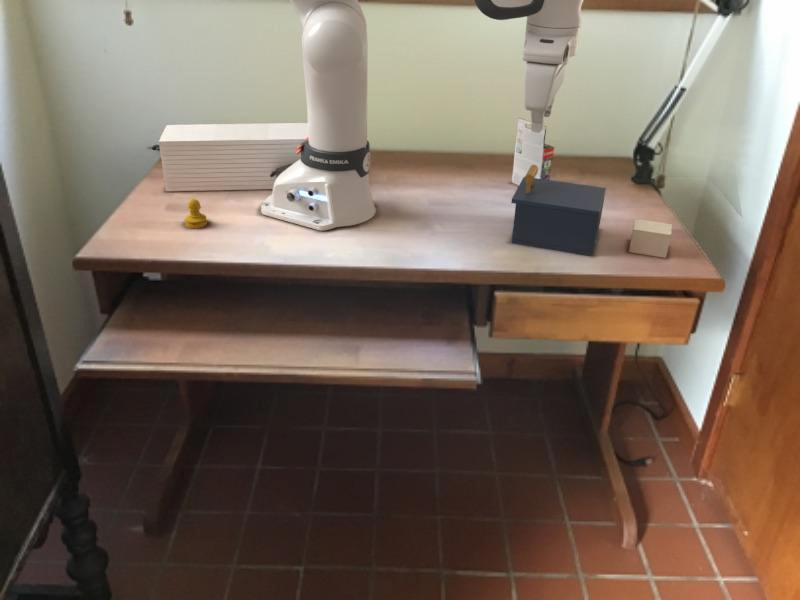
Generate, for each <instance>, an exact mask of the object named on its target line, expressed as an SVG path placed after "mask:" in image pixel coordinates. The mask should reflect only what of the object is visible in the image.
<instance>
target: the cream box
mask: <svg viewBox="0 0 800 600" xmlns="http://www.w3.org/2000/svg"><path fill="white" fill-rule="evenodd" d="M672 229H673V224H672V223H667V222H659V221H653V220H647V219H646V220H645V219H639V218H635V219H634V221H633V227H632V232H631V237H630V240H629V241H630V242H629V248H628V253H632V254H639V255H645V256H652V257H657V258H662V259H667V256H668V251H669V247H670V244H671V243H670V242H671V239H672Z"/></svg>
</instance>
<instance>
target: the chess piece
mask: <svg viewBox="0 0 800 600" xmlns="http://www.w3.org/2000/svg"><path fill="white" fill-rule="evenodd" d="M201 208H202V206H201V203H200V201H199V200H198V199H197V198H192V199H190V200H189V201H188V203H187V210H189V213H188V215H186V216H185V217H184V222H185V226H186V228H189V229H201V228H204V227H205V226H207V224H208V220H207V215H206V214H204V213H201V212H200V209H201Z"/></svg>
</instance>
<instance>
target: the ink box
mask: <svg viewBox="0 0 800 600" xmlns="http://www.w3.org/2000/svg"><path fill="white" fill-rule="evenodd" d="M531 124H532V120H527V119H524V118H521V117H519V118H518V122H517V129H516V138H515V139H516V140H515V146H514V153H513V154H514V156H513V164H512V166H513V167H512V175H511V176H512V177H511V183H512V184H513V185H516V186H517V187H519V185H520V183H521V181H522V179H523V177H525V176H526V174H527V172H528V170H529V168H530V166H532V165H536V166H537V167H538V172H537V174H536V176H535V178H537V179H544V180H551V175H552V168H553V159H554V151H555V146H553V145H550V144H548V143H545V141H546V135H547V126H546V125H543V129H542V131H541V132H540V133H537V132H532V131H531V128H530V127H527V126H531Z"/></svg>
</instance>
